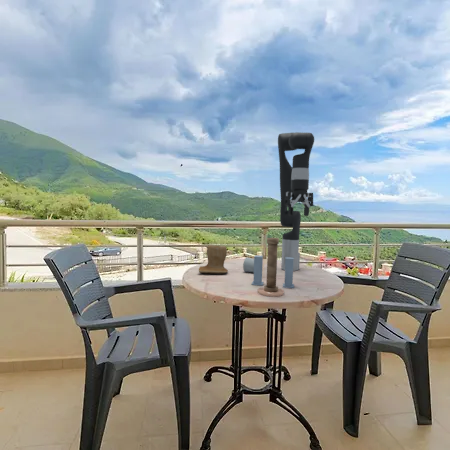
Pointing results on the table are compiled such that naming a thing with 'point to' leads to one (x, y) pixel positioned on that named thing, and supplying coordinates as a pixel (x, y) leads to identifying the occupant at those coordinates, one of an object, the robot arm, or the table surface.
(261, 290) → the disc
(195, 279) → the table surface
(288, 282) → the blue pillar pair
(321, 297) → the table surface
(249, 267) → the ceramic mug
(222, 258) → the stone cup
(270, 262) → the candlestick
